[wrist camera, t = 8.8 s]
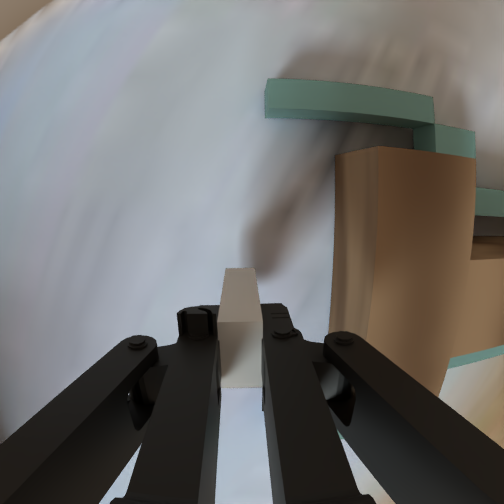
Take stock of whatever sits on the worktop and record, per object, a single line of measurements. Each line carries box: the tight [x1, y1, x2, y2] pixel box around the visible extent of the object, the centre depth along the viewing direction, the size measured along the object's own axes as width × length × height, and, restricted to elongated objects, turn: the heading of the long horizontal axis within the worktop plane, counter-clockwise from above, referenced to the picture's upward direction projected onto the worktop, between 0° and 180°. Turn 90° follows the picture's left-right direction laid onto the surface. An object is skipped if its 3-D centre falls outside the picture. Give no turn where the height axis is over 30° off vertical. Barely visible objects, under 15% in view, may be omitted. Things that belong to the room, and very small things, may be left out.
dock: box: [265, 79, 504, 439], centre depth 17 cm, size 22×21×2 cm
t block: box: [328, 146, 504, 397], centre depth 16 cm, size 15×14×6 cm
